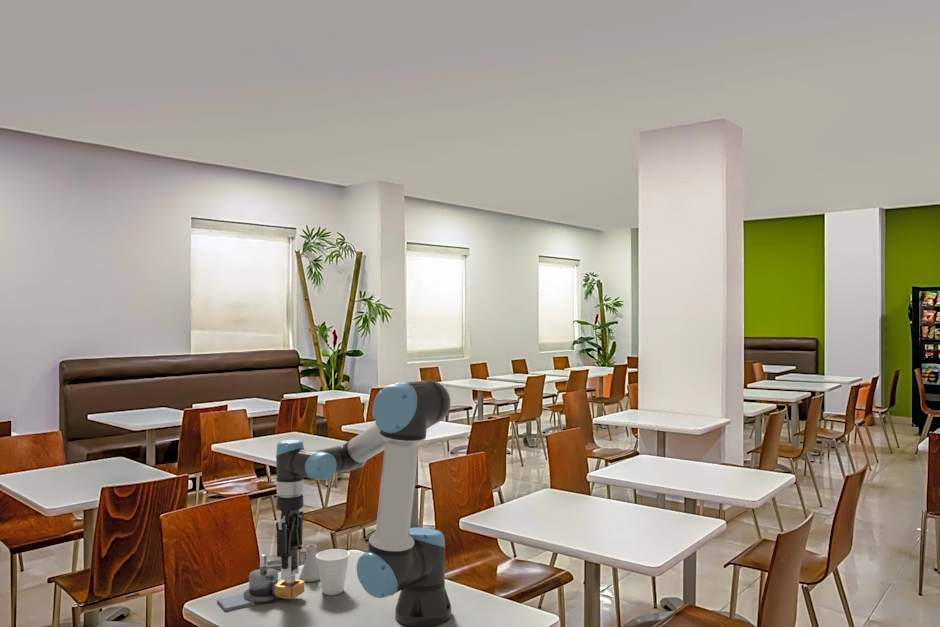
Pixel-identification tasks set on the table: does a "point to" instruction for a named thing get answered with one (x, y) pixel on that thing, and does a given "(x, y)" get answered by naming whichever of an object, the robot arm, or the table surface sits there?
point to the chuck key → (293, 565)
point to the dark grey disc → (260, 598)
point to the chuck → (272, 582)
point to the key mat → (234, 602)
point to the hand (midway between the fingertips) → (289, 575)
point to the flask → (310, 566)
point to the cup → (332, 570)
